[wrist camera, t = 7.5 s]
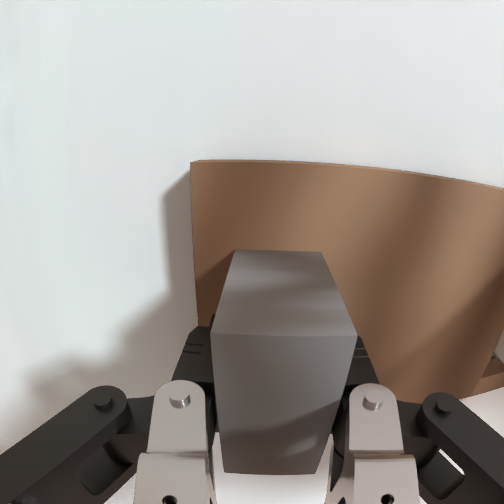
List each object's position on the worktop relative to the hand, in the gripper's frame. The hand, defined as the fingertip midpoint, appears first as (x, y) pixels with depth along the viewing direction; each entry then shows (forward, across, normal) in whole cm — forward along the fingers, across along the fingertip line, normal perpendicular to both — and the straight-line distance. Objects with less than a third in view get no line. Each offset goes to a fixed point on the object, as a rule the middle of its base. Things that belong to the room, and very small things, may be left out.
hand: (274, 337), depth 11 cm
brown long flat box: (+2, -10, 0) cm, 11 cm away
